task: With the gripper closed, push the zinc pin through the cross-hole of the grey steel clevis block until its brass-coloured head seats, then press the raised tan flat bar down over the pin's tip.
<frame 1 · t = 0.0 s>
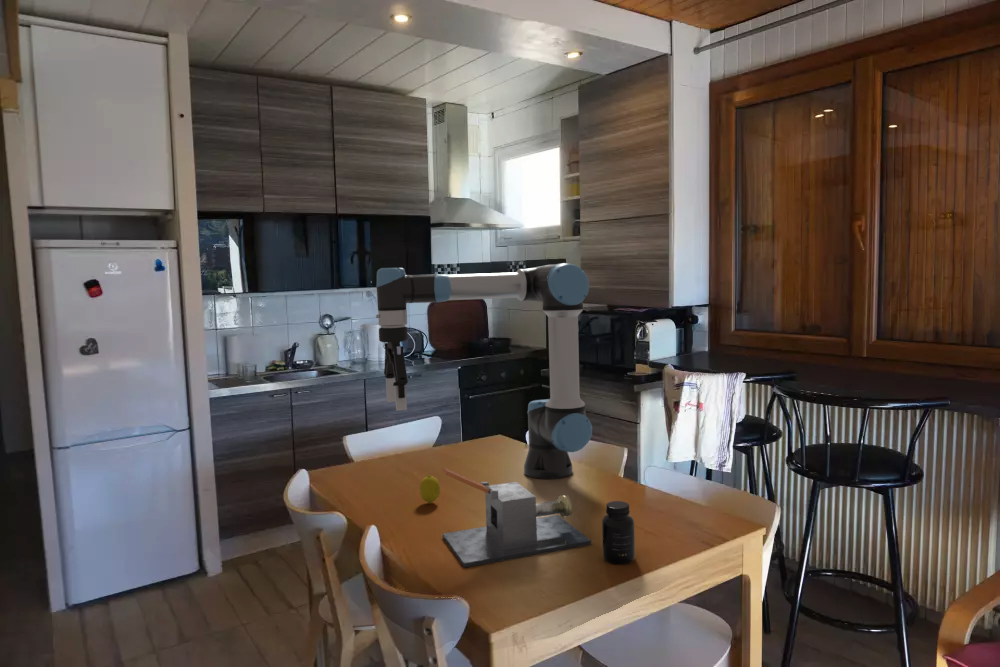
hand: (396, 405, 175), 28 cm above the table, fingers open, 13 cm apart
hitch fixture: (511, 541, 152), on the table
tan flat bar: (468, 481, 148), point 16 cm above the table, hinge at -30.0°
lemon: (430, 504, 181), on the table
lynch pin: (537, 510, 154), point 7 cm above the table, slide at 0.0 cm
supplement bottle: (618, 559, 141), on the table
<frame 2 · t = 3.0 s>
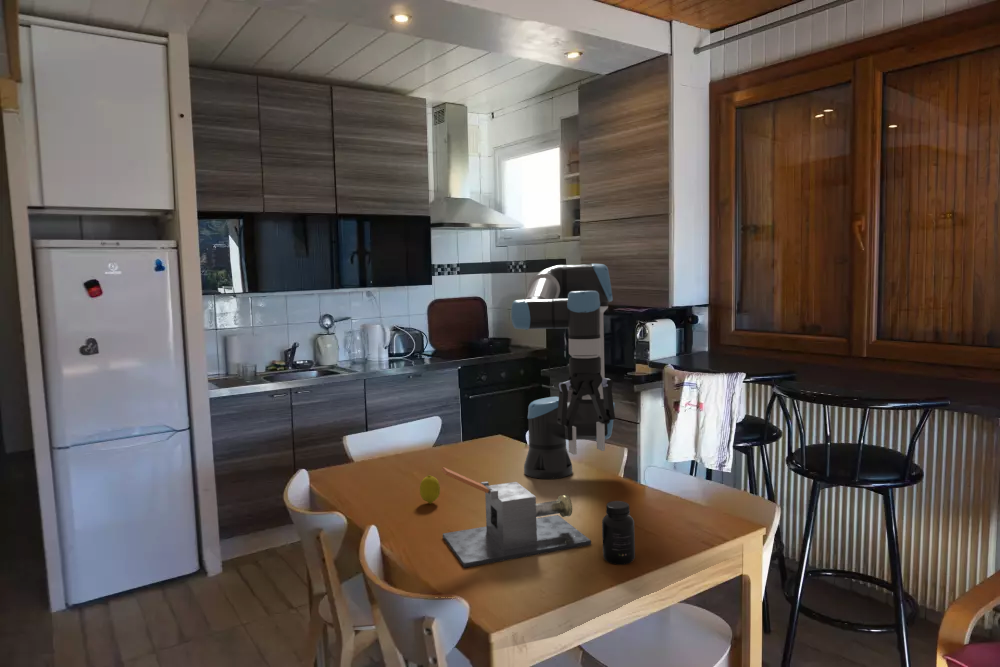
hand: (586, 451, 158), 19 cm above the table, fingers open, 7 cm apart
nothing on the table moved.
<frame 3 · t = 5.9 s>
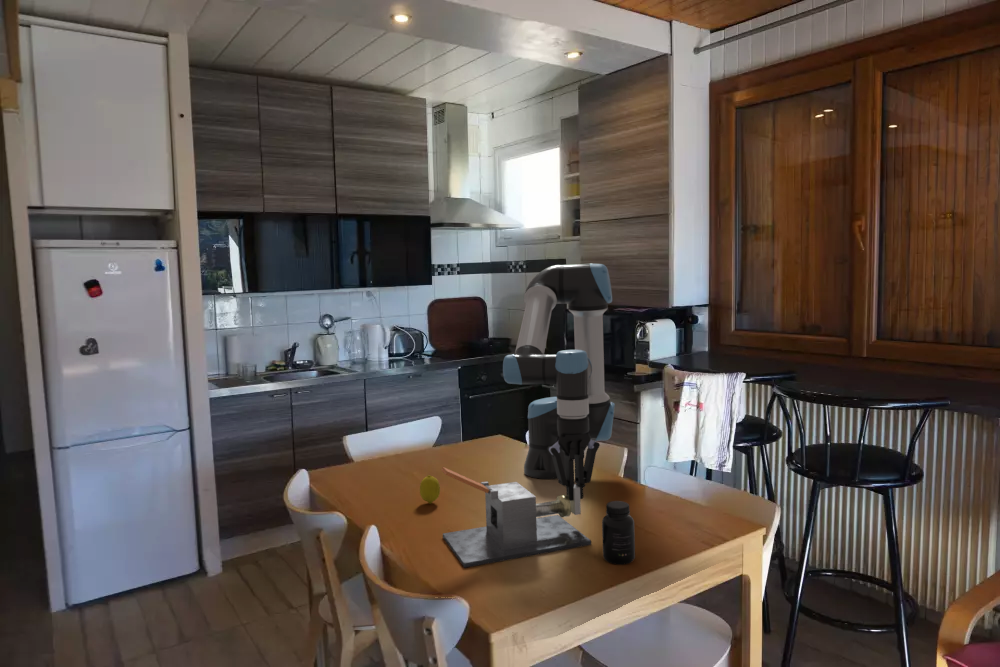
hand: (575, 512, 157), 4 cm above the table, fingers closed
lynch pin: (536, 510, 154), point 7 cm above the table, slide at 0.3 cm, touching gripper
everything else where it was.
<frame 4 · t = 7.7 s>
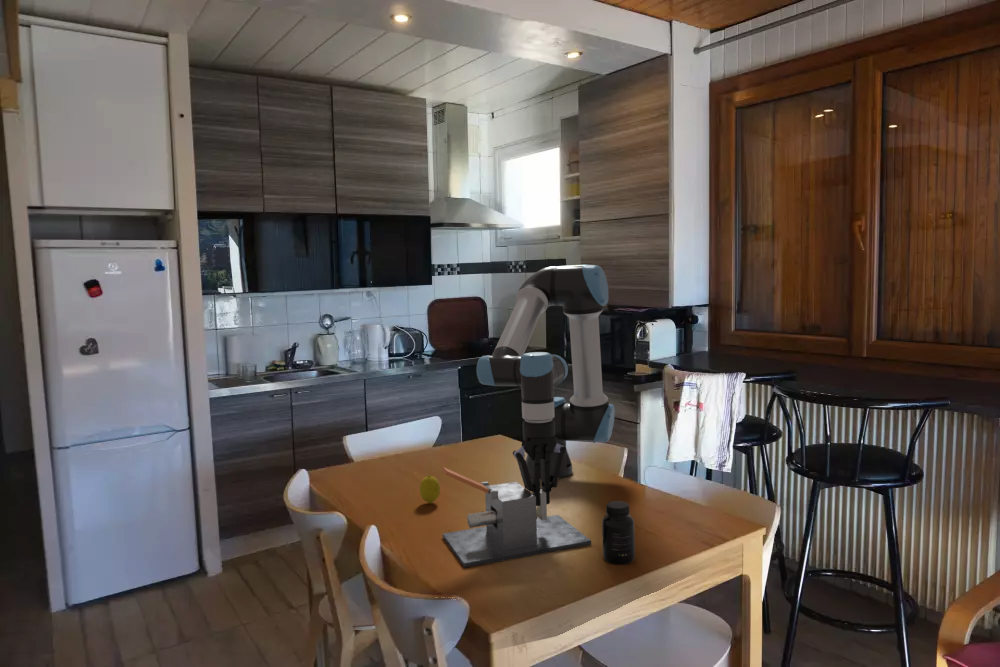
hand: (542, 518, 155), 4 cm above the table, fingers closed
lynch pin: (501, 515, 151), point 7 cm above the table, slide at 8.9 cm, touching gripper
everything else where it was.
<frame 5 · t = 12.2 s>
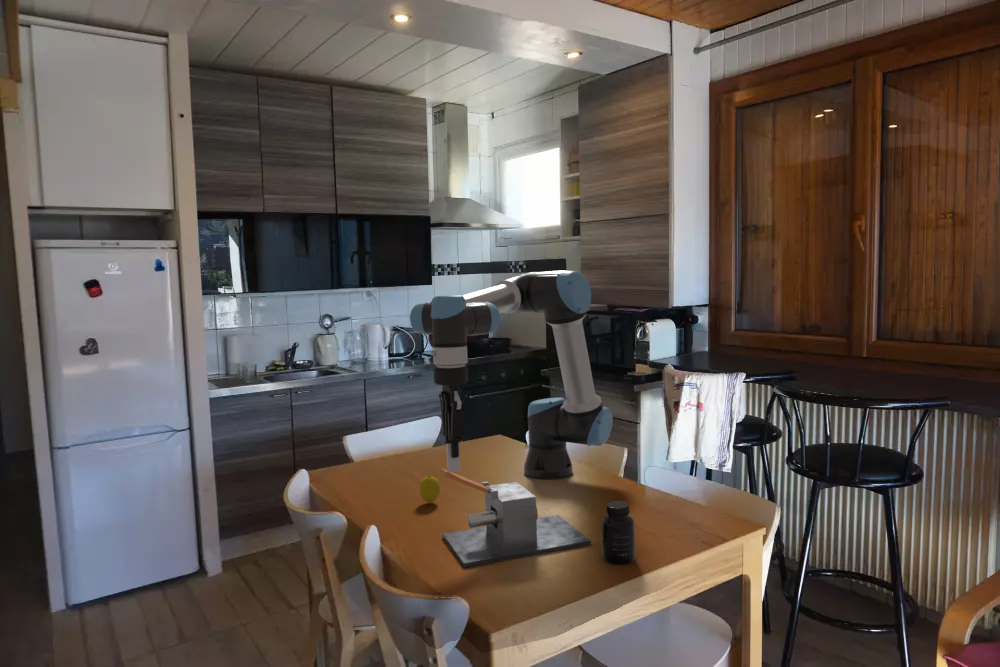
hand: (453, 470, 147), 19 cm above the table, fingers closed
tan flat bar: (467, 482, 148), point 15 cm above the table, hinge at -28.2°, touching gripper
lynch pin: (502, 515, 151), point 7 cm above the table, slide at 8.8 cm
everything else where it was.
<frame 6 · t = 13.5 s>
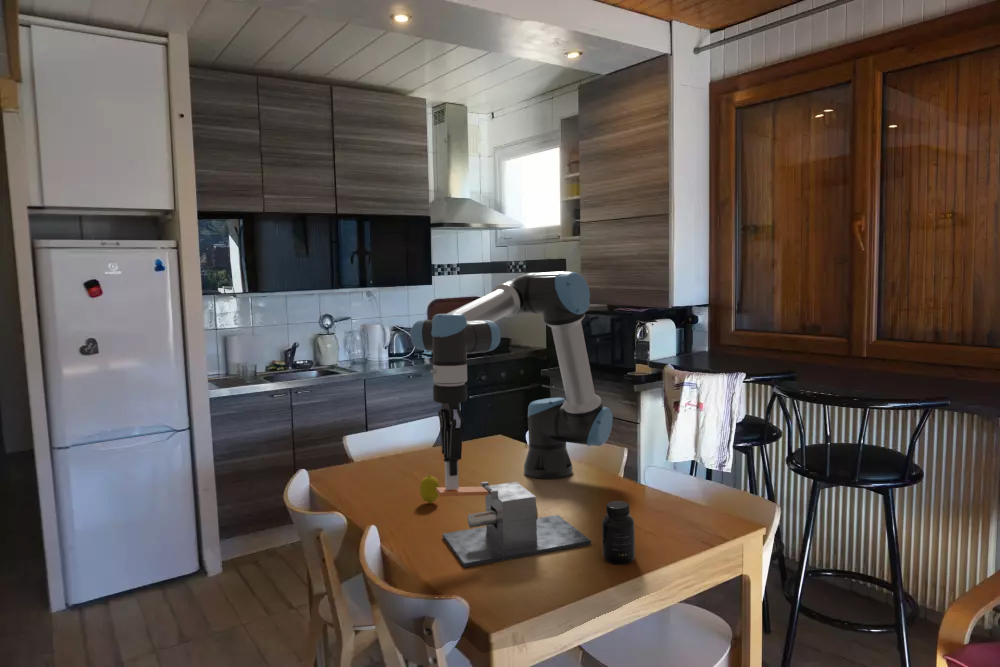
hand: (452, 488, 147), 15 cm above the table, fingers closed
tan flat bar: (465, 491, 148), point 13 cm above the table, hinge at -6.7°, touching gripper
everything else where it was.
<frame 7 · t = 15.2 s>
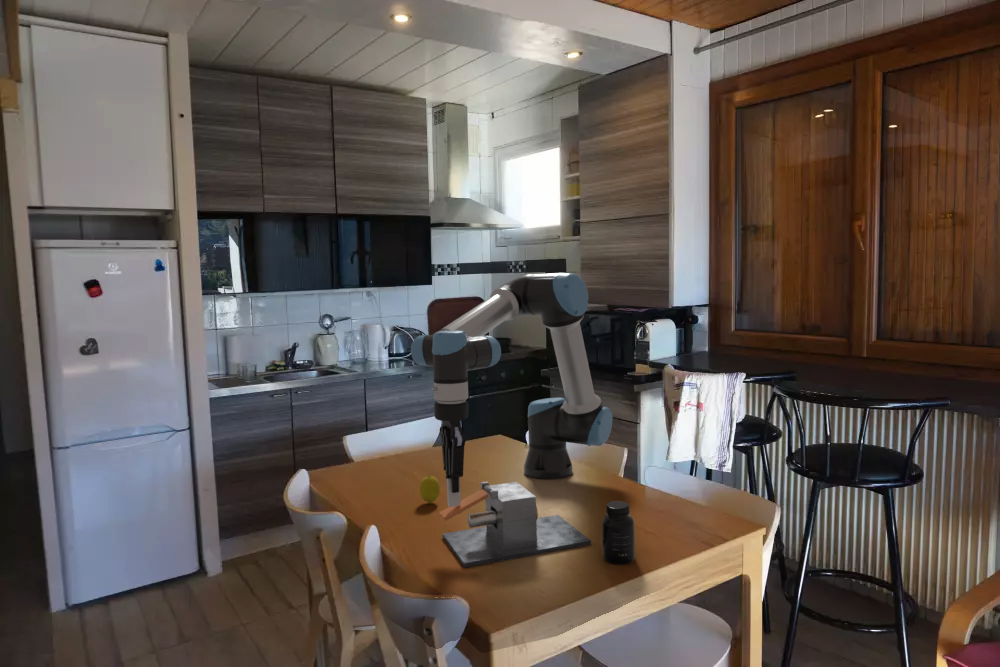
hand: (454, 505, 147), 11 cm above the table, fingers closed
tan flat bar: (467, 502, 148), point 11 cm above the table, hinge at 21.3°, touching gripper
everything else where it was.
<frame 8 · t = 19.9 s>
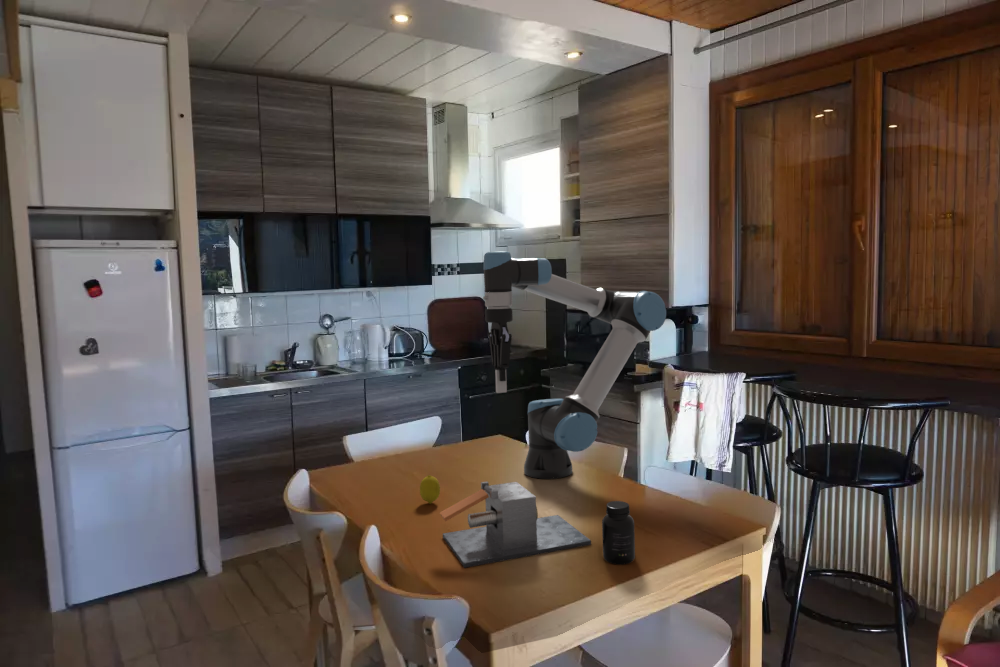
hand: (501, 392, 183), 29 cm above the table, fingers closed
tan flat bar: (467, 503, 148), point 11 cm above the table, hinge at 21.6°
everything else where it was.
at the end: lynch pin slide at 8.8 cm; tan flat bar at +22° (first picture: -30°) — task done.
